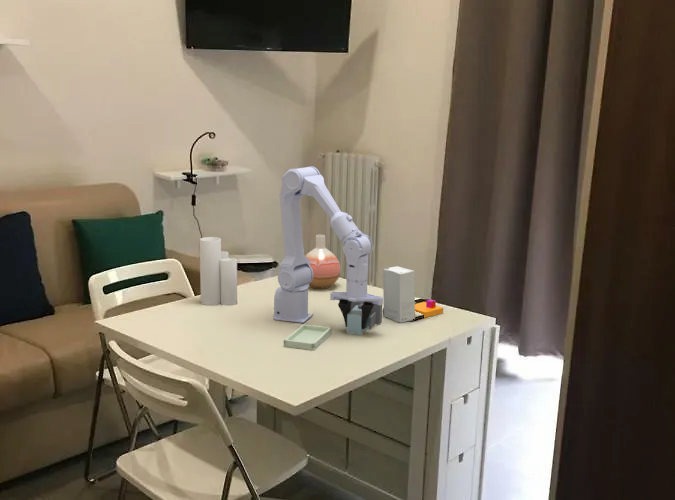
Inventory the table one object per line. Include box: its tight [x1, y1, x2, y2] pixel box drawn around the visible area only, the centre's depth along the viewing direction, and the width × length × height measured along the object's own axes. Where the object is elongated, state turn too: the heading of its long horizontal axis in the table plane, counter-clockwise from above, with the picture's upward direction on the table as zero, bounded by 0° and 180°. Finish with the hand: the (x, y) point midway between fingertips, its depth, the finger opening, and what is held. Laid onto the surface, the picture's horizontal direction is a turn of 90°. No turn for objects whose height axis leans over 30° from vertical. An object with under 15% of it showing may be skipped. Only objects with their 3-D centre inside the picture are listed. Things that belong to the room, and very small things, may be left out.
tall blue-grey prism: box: [346, 305, 370, 336], centre depth 213 cm, size 4×9×6 cm, turn 162°
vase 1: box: [199, 236, 238, 306], centre depth 235 cm, size 11×7×20 cm, turn 93°
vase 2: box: [305, 234, 342, 290], centre depth 256 cm, size 14×14×18 cm
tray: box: [283, 323, 333, 351], centre depth 204 cm, size 8×14×2 cm, turn 162°
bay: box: [350, 302, 383, 330], centre depth 217 cm, size 9×8×6 cm
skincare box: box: [382, 265, 416, 324], centre depth 223 cm, size 8×6×15 cm
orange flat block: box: [415, 299, 444, 319], centre depth 230 cm, size 8×8×4 cm
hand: (355, 327), depth 211 cm, fingers closed on tall blue-grey prism, 4 cm apart
